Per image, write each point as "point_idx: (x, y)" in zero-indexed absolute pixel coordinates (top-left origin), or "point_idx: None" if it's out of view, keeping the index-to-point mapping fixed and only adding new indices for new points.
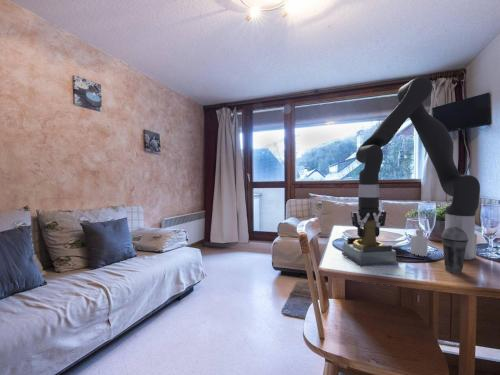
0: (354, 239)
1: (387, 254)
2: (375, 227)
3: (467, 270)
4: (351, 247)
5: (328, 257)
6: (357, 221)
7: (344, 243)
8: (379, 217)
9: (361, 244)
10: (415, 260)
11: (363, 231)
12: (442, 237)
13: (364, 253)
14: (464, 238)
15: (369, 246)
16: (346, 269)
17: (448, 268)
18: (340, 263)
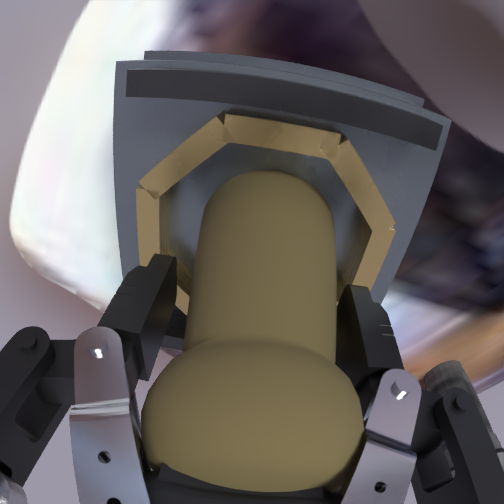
0: (204, 99)
1: None
2: (355, 390)
3: (473, 373)
4: (116, 207)
5: (44, 116)
6: (42, 443)
7: (118, 77)
8: (468, 491)
9: (201, 224)
10: (461, 288)
11: (187, 323)
12: (452, 470)
13: None
14: None
15: (182, 343)
16: (79, 275)
17: (427, 385)
18: (73, 212)
